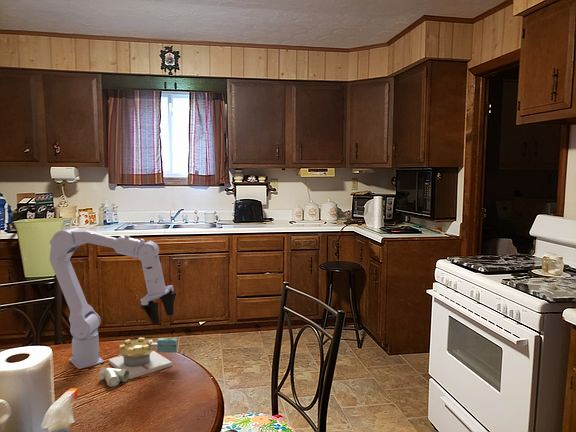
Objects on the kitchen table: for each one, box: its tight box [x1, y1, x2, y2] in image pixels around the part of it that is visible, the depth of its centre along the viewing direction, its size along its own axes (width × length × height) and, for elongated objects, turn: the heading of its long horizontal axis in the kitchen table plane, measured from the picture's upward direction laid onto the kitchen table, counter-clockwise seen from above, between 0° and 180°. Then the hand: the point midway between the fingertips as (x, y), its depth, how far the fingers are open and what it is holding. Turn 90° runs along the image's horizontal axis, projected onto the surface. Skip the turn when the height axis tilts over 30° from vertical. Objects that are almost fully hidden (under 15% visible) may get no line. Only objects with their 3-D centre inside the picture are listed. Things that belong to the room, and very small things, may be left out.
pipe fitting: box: [98, 366, 130, 388], centre depth 133 cm, size 8×4×7 cm
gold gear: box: [119, 337, 178, 358], centre depth 145 cm, size 18×10×4 cm, turn 87°
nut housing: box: [108, 350, 173, 380], centre depth 146 cm, size 16×14×4 cm
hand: (163, 319), depth 147 cm, fingers open, 7 cm apart
